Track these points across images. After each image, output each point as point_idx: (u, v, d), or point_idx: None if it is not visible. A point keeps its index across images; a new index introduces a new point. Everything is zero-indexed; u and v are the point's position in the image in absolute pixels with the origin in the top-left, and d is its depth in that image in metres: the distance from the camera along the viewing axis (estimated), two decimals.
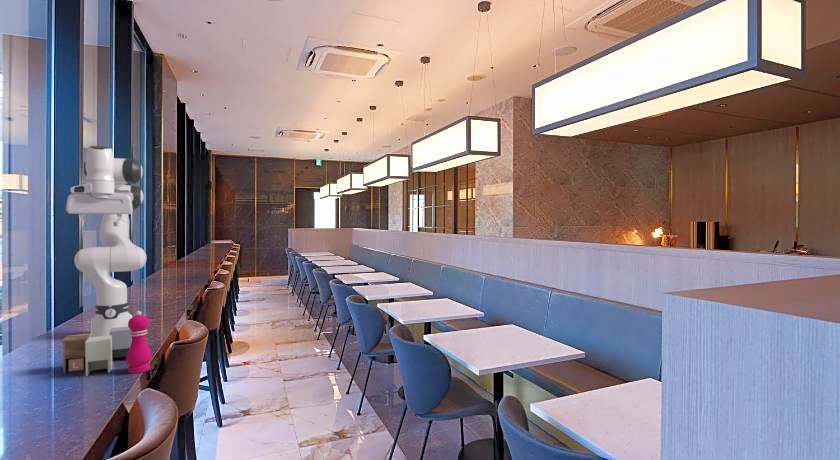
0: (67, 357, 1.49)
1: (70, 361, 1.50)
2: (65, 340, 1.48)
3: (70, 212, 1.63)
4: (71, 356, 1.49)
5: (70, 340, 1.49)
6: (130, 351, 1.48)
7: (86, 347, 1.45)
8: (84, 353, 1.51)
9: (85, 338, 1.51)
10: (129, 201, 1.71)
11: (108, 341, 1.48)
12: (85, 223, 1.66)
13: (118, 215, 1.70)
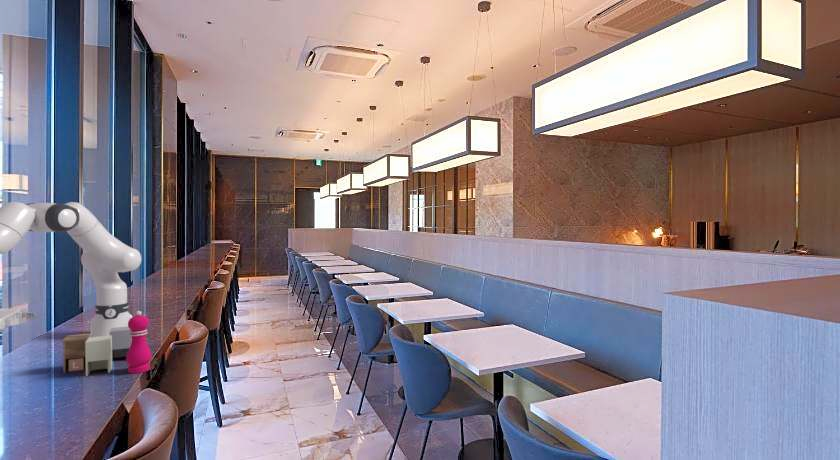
0: (67, 357, 1.49)
1: (70, 361, 1.50)
2: (65, 340, 1.48)
3: None
4: (71, 356, 1.49)
5: (70, 340, 1.49)
6: (130, 351, 1.48)
7: (86, 347, 1.45)
8: (84, 353, 1.51)
9: (85, 338, 1.51)
10: None
11: (108, 341, 1.48)
12: None
13: (8, 325, 1.39)
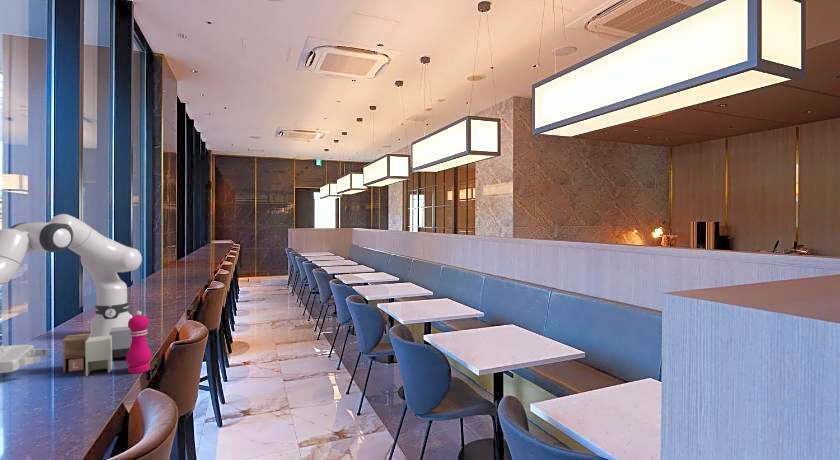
0: (67, 357, 1.49)
1: (70, 361, 1.50)
2: (65, 340, 1.48)
3: None
4: (71, 356, 1.49)
5: (70, 340, 1.49)
6: (130, 351, 1.48)
7: (86, 347, 1.45)
8: (84, 353, 1.51)
9: (85, 338, 1.51)
10: None
11: (108, 341, 1.48)
12: None
13: None
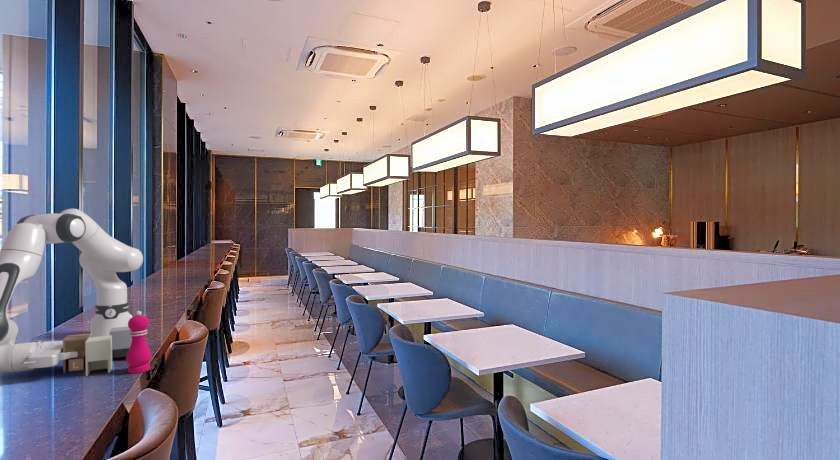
0: None
1: (70, 361, 1.50)
2: (65, 340, 1.48)
3: None
4: None
5: (70, 340, 1.49)
6: (130, 351, 1.48)
7: (86, 347, 1.45)
8: (84, 353, 1.51)
9: (85, 338, 1.51)
10: (37, 367, 1.40)
11: (108, 341, 1.48)
12: None
13: None
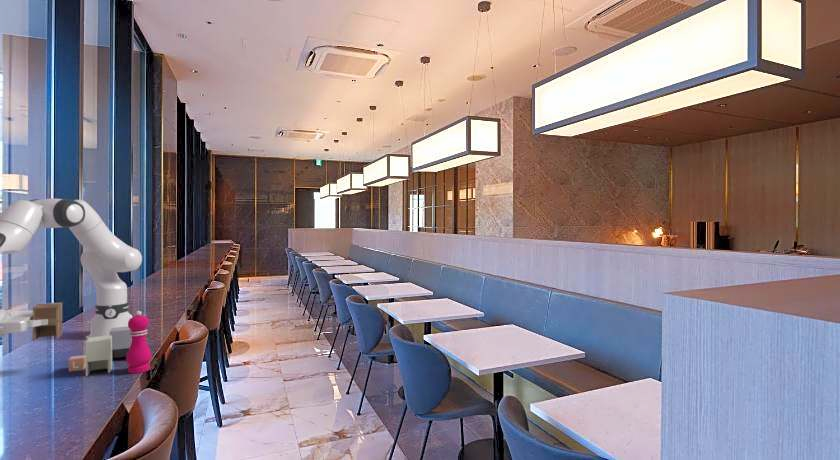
0: None
1: (70, 361, 1.50)
2: (35, 307, 1.45)
3: None
4: None
5: (40, 307, 1.46)
6: (130, 351, 1.48)
7: (86, 347, 1.45)
8: (55, 321, 1.47)
9: (56, 306, 1.48)
10: (4, 333, 1.37)
11: (108, 341, 1.48)
12: None
13: (31, 326, 1.43)
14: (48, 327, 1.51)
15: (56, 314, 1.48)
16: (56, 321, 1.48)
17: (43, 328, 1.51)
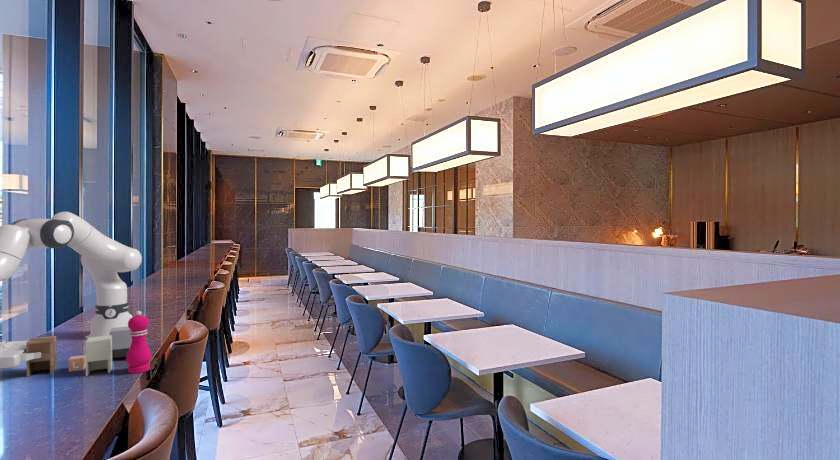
0: (31, 360, 1.45)
1: (70, 361, 1.50)
2: (29, 343, 1.45)
3: None
4: (35, 359, 1.46)
5: (34, 343, 1.45)
6: (130, 351, 1.48)
7: (86, 347, 1.45)
8: (49, 356, 1.47)
9: (50, 341, 1.47)
10: None
11: (108, 341, 1.48)
12: None
13: None
14: (42, 361, 1.51)
15: (50, 349, 1.47)
16: (50, 356, 1.47)
17: (37, 362, 1.50)
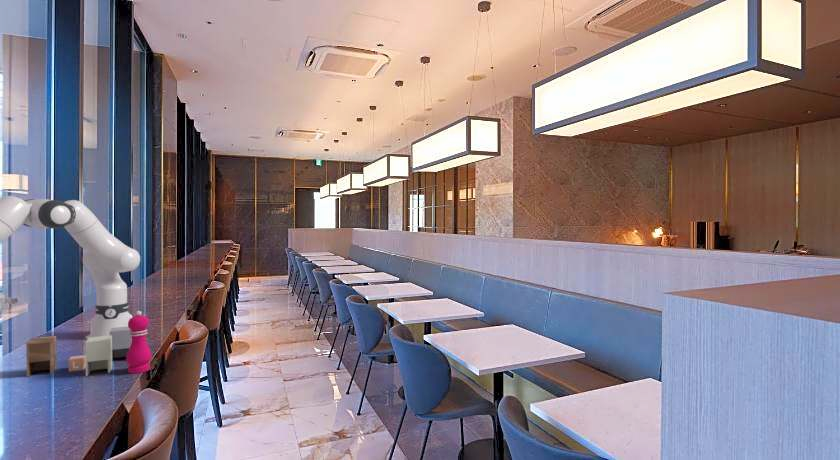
0: (31, 360, 1.45)
1: (70, 361, 1.50)
2: (29, 343, 1.45)
3: None
4: (35, 359, 1.46)
5: (34, 343, 1.45)
6: (130, 351, 1.48)
7: (86, 347, 1.45)
8: (49, 356, 1.47)
9: (50, 341, 1.47)
10: None
11: (108, 341, 1.48)
12: (13, 303, 1.51)
13: None
14: (42, 361, 1.51)
15: (50, 349, 1.47)
16: (50, 356, 1.47)
17: (37, 362, 1.50)
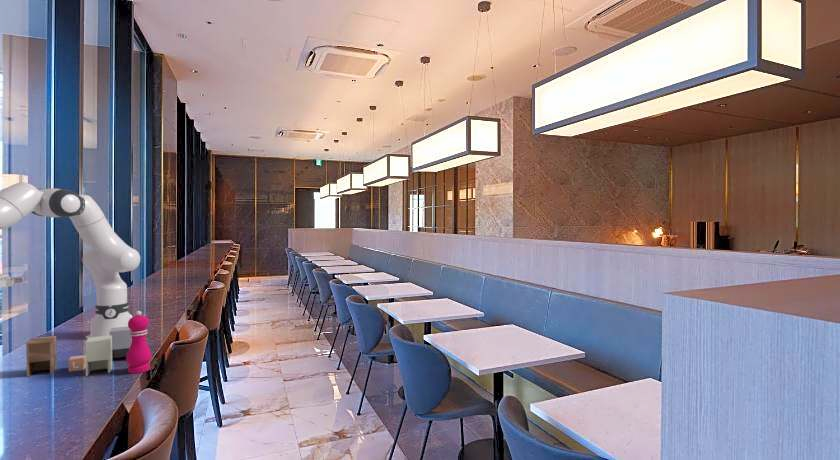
0: (31, 360, 1.45)
1: (70, 361, 1.50)
2: (29, 343, 1.45)
3: None
4: (35, 359, 1.46)
5: (34, 343, 1.45)
6: (130, 351, 1.48)
7: (86, 347, 1.45)
8: (49, 356, 1.47)
9: (50, 341, 1.47)
10: None
11: (108, 341, 1.48)
12: (18, 282, 1.52)
13: None
14: (42, 361, 1.51)
15: (50, 349, 1.47)
16: (50, 356, 1.47)
17: (37, 362, 1.50)
